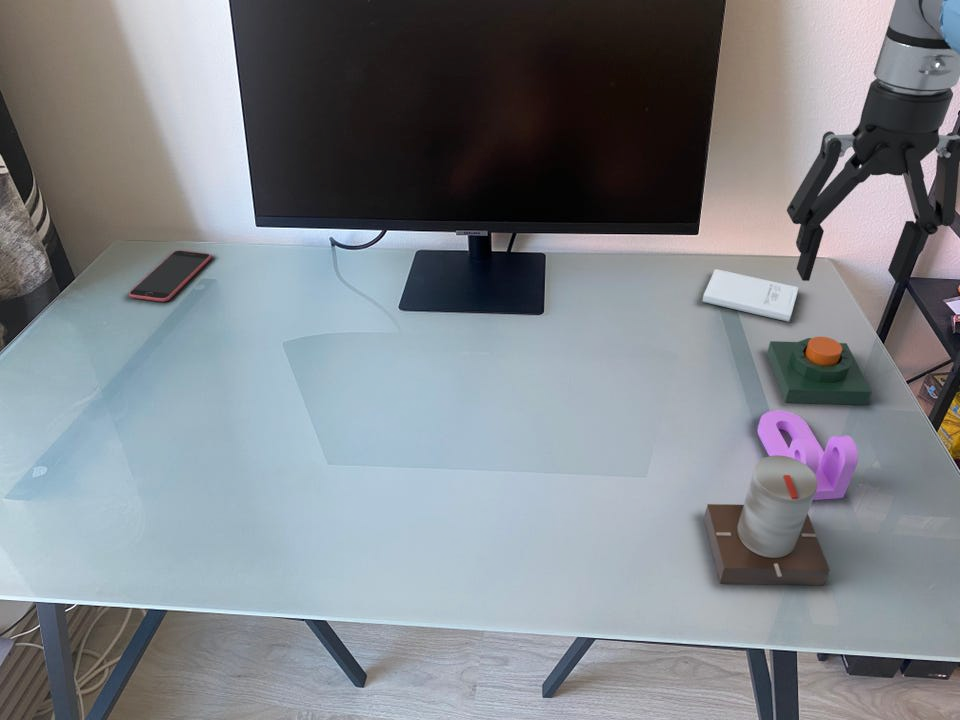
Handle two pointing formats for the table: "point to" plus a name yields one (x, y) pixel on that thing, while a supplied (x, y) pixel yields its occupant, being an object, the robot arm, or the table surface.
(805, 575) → the panel
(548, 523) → the table surface
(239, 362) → the table surface
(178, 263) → the smartphone
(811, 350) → the button
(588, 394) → the table surface
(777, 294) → the hard drive
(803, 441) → the bracket
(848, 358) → the switchbox
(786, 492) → the dial
